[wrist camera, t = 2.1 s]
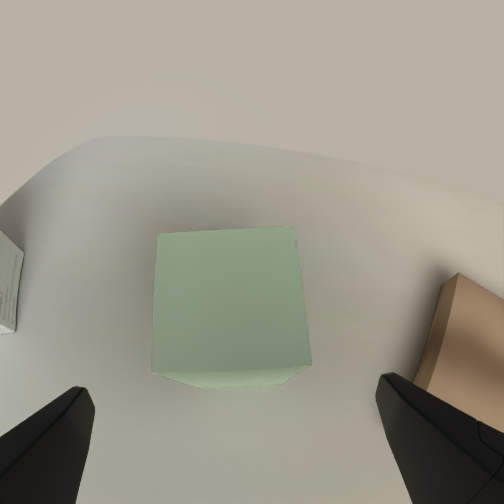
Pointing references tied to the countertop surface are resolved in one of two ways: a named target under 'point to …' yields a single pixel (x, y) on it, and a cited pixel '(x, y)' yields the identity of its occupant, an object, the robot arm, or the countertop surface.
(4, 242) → the supplement box
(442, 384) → the walnut plinth
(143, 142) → the countertop surface
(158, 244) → the sage block
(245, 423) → the countertop surface
